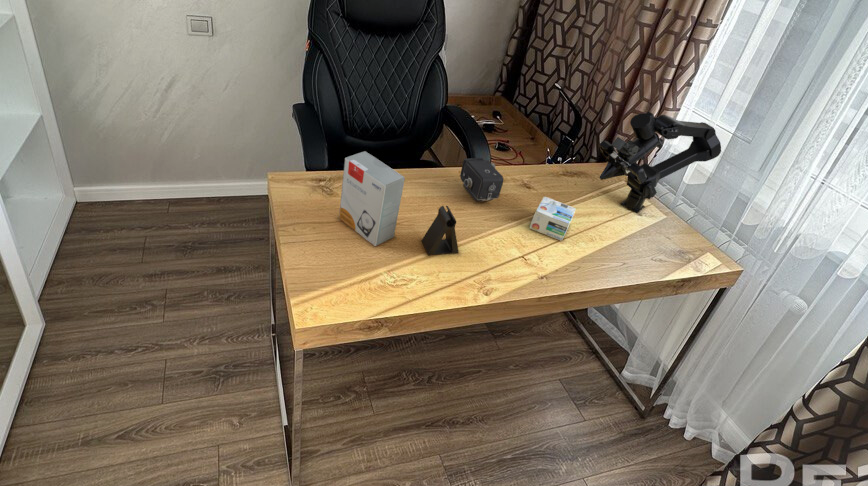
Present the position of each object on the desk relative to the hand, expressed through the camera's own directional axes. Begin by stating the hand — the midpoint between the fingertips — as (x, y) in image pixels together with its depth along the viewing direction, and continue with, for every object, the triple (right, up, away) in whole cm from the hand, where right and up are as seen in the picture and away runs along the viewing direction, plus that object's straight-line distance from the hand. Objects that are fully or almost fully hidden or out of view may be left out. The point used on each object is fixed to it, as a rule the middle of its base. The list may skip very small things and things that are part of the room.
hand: (600, 178), depth 163 cm
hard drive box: (-73, -15, -20) cm, 77 cm away
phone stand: (-52, -21, -22) cm, 60 cm away
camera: (-39, -5, +4) cm, 40 cm away
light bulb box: (-15, -10, -2) cm, 18 cm away
